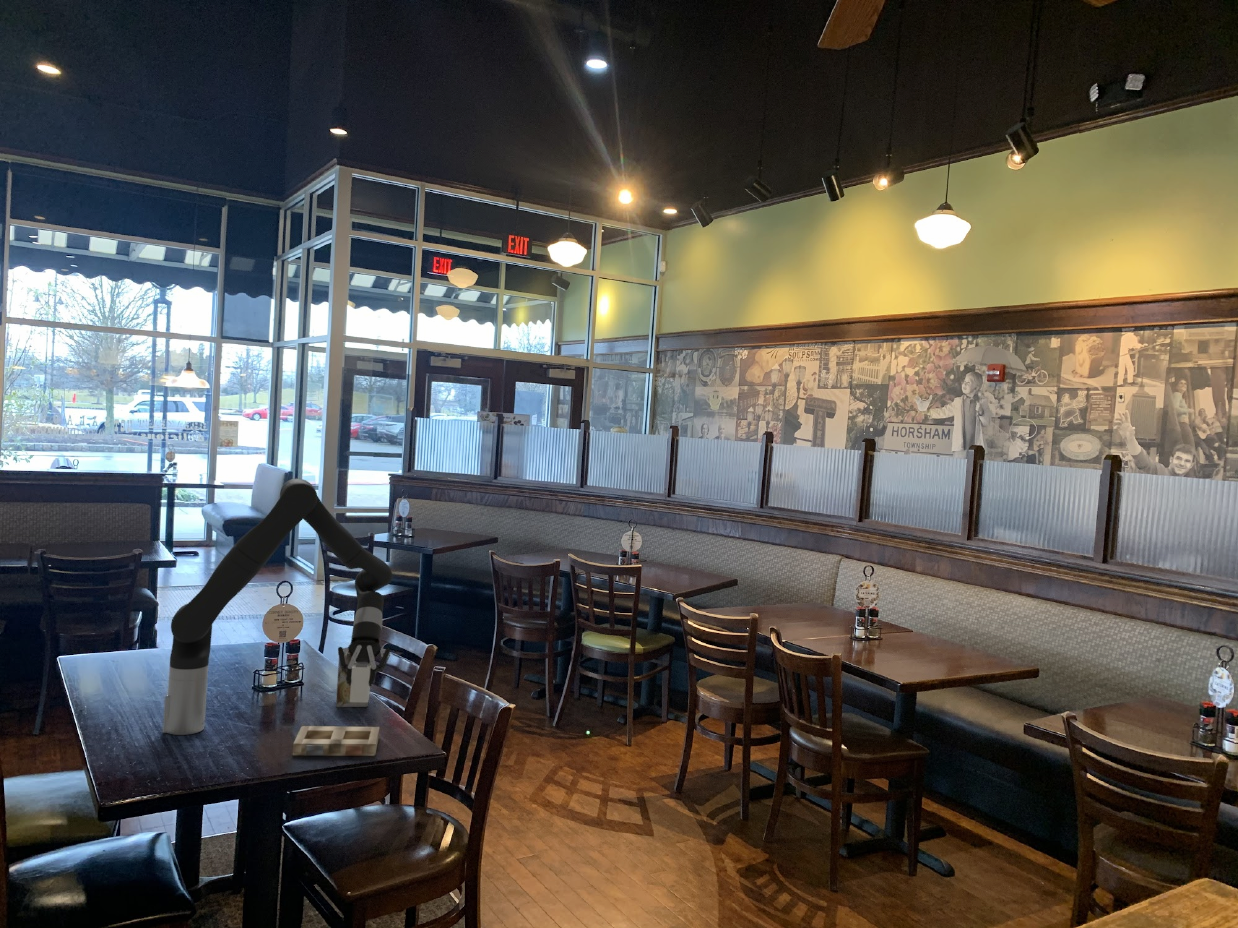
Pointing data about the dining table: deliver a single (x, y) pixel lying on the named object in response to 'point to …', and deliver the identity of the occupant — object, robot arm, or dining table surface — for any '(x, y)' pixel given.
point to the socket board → (336, 741)
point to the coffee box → (345, 688)
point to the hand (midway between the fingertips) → (360, 684)
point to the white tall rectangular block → (360, 682)
